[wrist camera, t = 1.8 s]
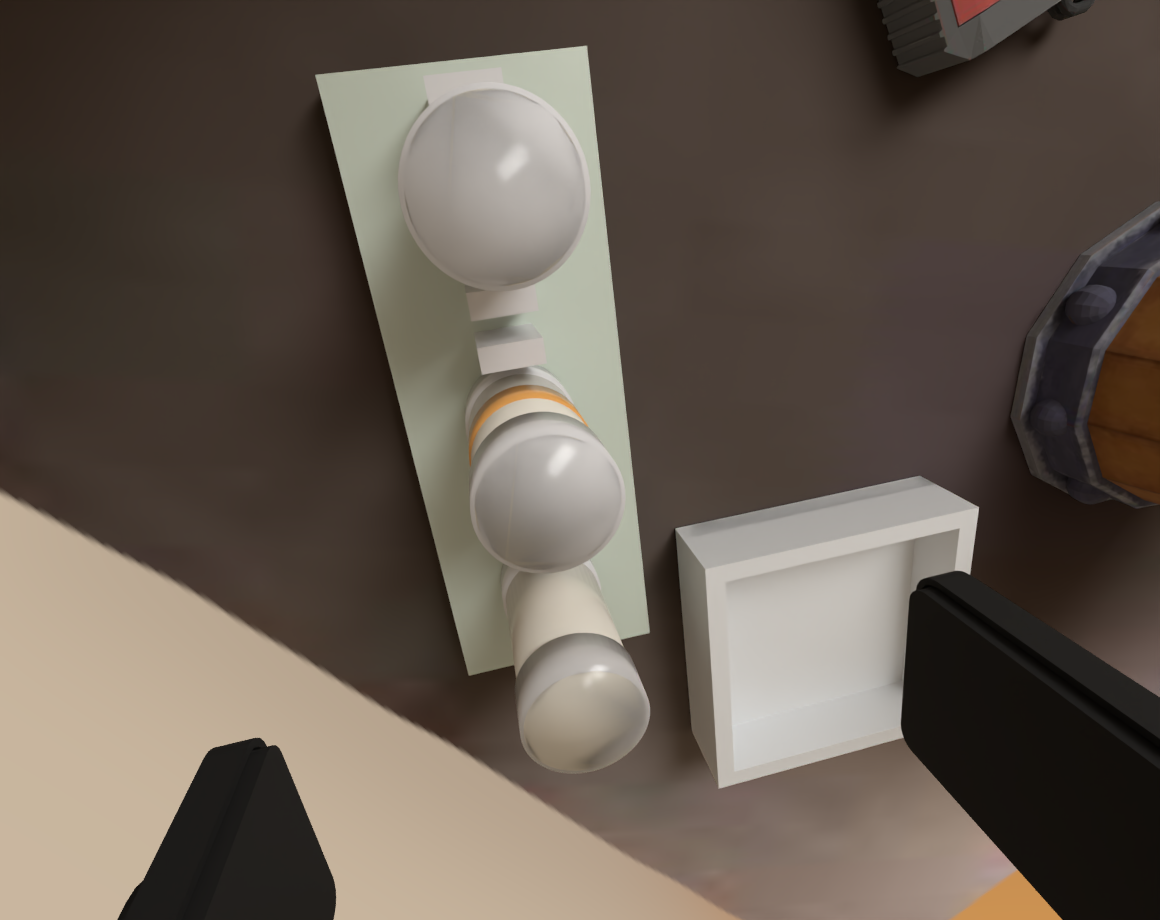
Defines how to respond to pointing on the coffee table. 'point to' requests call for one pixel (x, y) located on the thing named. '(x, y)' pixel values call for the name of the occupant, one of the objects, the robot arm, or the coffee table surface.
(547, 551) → the marked fuse
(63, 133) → the coffee table surface
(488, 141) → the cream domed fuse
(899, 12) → the red flat piece
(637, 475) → the coffee table surface
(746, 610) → the tray
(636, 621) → the board
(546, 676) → the far fuse
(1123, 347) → the mug
